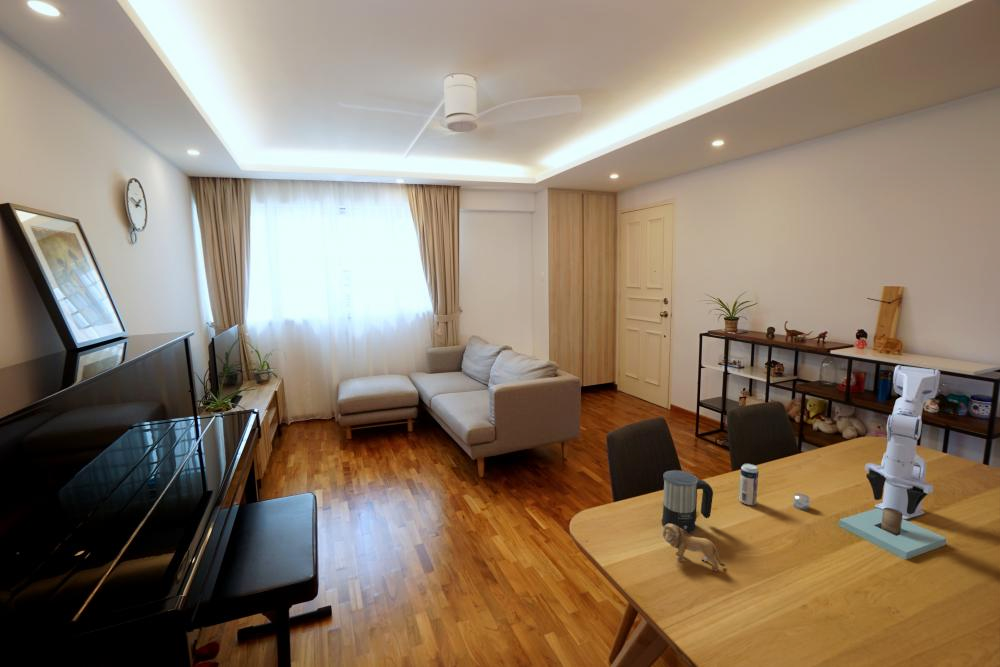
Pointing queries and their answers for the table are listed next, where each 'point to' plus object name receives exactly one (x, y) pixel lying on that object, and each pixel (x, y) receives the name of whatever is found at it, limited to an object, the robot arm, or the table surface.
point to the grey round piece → (801, 501)
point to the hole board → (903, 545)
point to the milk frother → (684, 499)
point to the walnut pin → (891, 521)
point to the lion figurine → (690, 544)
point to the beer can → (748, 484)
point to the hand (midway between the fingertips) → (893, 505)
